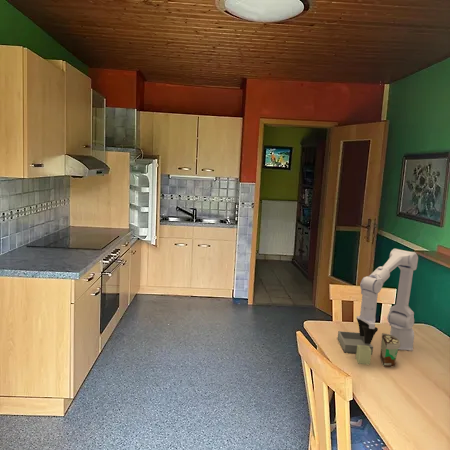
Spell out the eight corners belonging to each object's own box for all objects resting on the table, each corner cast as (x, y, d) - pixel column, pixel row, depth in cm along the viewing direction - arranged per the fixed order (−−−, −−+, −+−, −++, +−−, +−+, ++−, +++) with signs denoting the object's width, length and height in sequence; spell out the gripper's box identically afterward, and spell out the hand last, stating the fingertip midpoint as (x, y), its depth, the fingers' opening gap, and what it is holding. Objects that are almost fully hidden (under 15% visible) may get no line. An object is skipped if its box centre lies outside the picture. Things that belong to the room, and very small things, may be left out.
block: (366, 359, 176) (368, 345, 175) (369, 364, 171) (371, 350, 170) (355, 358, 176) (357, 344, 175) (358, 363, 171) (360, 349, 170)
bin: (362, 340, 196) (363, 333, 195) (372, 354, 180) (373, 347, 180) (337, 338, 196) (338, 331, 196) (344, 352, 181) (345, 344, 180)
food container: (400, 370, 167) (403, 346, 166) (384, 368, 168) (386, 344, 167) (394, 357, 179) (397, 334, 178) (379, 355, 180) (382, 332, 179)
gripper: (354, 300, 178) (350, 332, 180) (363, 312, 163) (359, 346, 165) (371, 301, 177) (368, 333, 179) (381, 313, 163) (378, 347, 165)
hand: (365, 339), depth 172 cm, fingers open, 7 cm apart
